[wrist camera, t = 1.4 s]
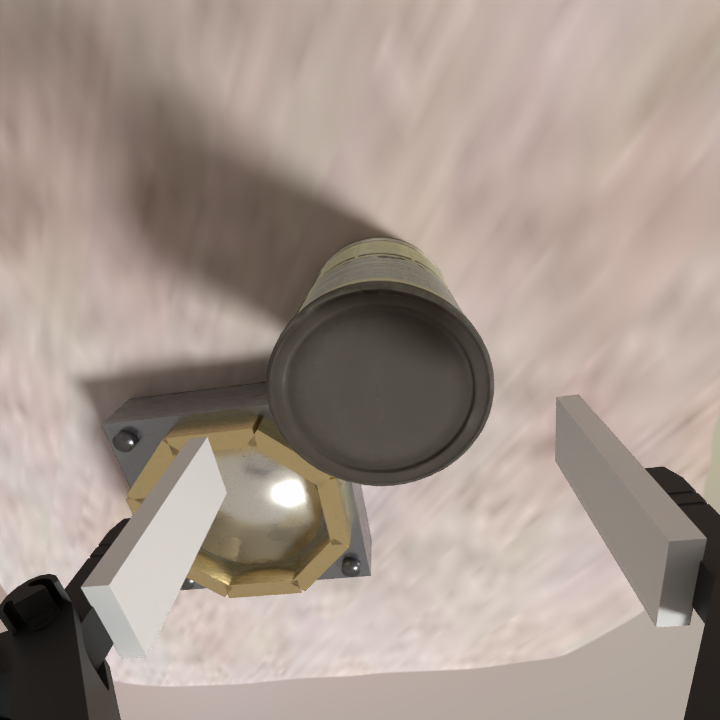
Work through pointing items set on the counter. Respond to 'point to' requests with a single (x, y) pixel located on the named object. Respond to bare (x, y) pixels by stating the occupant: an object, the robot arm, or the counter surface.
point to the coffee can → (380, 369)
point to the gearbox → (247, 492)
